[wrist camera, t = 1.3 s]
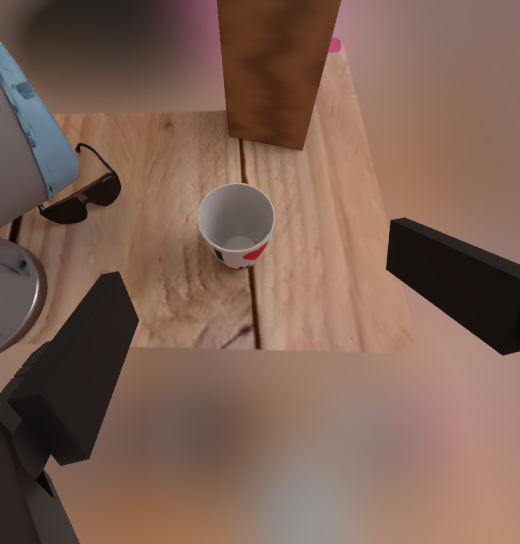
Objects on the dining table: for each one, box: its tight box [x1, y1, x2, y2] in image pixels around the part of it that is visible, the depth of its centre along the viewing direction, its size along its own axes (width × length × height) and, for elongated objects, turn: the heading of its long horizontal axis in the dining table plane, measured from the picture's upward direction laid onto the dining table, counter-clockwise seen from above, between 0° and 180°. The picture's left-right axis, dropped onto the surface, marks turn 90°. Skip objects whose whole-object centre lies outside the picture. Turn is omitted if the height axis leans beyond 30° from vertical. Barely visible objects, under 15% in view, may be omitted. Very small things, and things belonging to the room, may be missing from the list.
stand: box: [217, 0, 341, 150], centre depth 34 cm, size 12×12×25 cm
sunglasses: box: [38, 143, 121, 224], centre depth 38 cm, size 10×12×5 cm
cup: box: [197, 183, 276, 269], centre depth 33 cm, size 8×8×10 cm
